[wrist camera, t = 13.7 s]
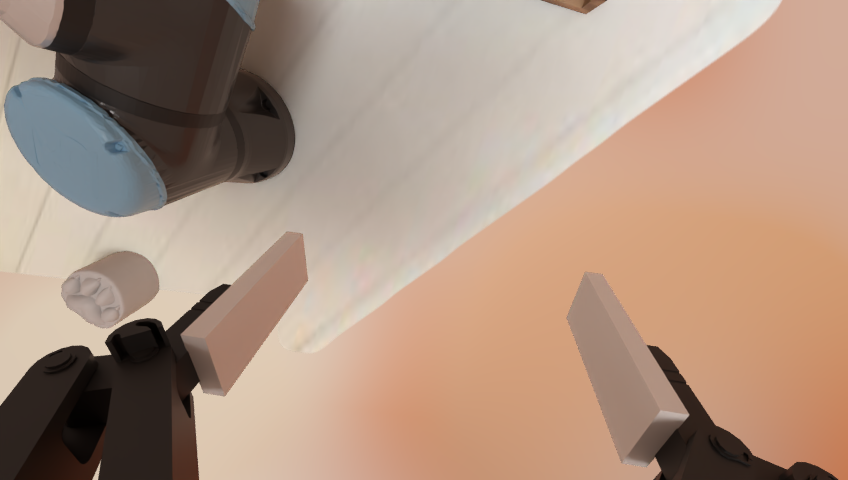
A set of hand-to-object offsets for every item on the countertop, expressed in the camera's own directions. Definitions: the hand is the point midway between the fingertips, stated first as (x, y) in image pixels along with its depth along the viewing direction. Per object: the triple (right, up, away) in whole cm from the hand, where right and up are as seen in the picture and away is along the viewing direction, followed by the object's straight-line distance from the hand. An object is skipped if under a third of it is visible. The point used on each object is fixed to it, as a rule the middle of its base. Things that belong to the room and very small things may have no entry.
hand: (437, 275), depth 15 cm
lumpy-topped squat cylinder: (-57, -5, +48) cm, 74 cm away
